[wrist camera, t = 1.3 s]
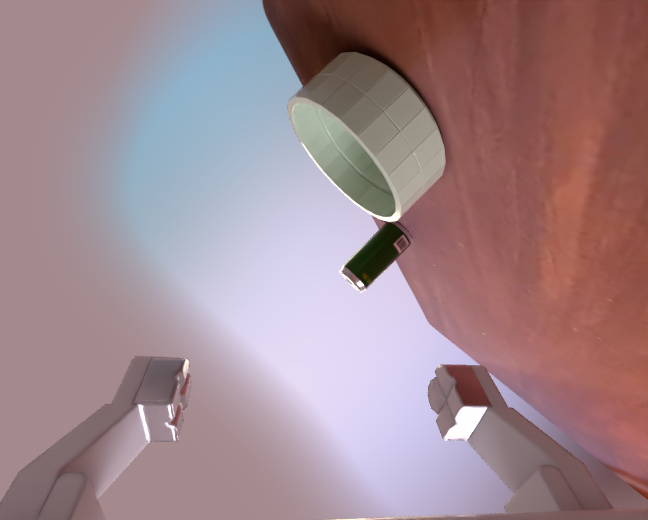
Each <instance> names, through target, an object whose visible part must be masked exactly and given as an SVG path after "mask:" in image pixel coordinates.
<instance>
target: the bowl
mask: <svg viewBox="0 0 648 520" xmlns="http://www.w3.org/2000/svg"><path fill="white" fill-rule="evenodd" d="M287 109H288V114H289V118H290V121H291V123H292V126H293V129H294V131H295V133H296V135H297V137H298V138H299V140H300V142H301V144H302V145H303V147H304V148H305V150H306V151H307V153H308V154H309V155H310V157H311V158H312V159H313V161H314V162H315V163H316V165H317V166H318V167H319V168H320V170H321V171H322V172H323V173H324V174H325V175H326V176H327V178H328V179H329V180H330V181H331V182H332V183H333V184H334V185H335V186H336V187H337V188H338V189H339V190H340V191H341V192H342V193H343V194H344V195H346V196H347V197H348V198H349V199H350V200H351V201H353V202H354V203H355V204H356V205H357V206H359V207H360V208H362V209H363V210H365V211H366V212H368V213H369V214H371V215H373V216H375V217H377V218H379V219H381V220H384V221H387V222H394V221H397V220H398V219H399V218H400V217H401V216H402V215H403V214H404V213H405V212H406V211H407V210H408V209H409V208H410V207H411V206H412V205H413V204H414V203H415V202H416V201H417V200H418V199H419V198H420V197H421V196H422V195H423V194H424V193H425V192H426V191H427V190H428V189H429V188H430V187H431V186H432V185H433V184H434V183H435V182H436V181H437V180H438V179H439V178H440V177H441V176H442V175H443V172H444V168H445V164H446V159H445V149H444V144H443V141H442V138H441V135H440V131H439V129H438V126H437V124H436V122H435V120H434V118H433V116H432V114H431V112H430V111H429V109H428V107H427V106H426V104H425V103H424V101H423V100H422V99H421V97H420V96H419V95H418V93H417V92H416V91H415V90H414V89H413V88H412V86H411V85H410V84H409V83H408V82H407V81H406V80H405V79H404V78H402V77H401V76H400V75H399V74H398V73H396V72H395V71H394V70H392V69H391V68H390V67H388V66H387V65H385V64H383V63H381V62H380V61H378V60H375V59H374V58H372V57H369V56H366V55H363V54H360V53H357V52H344V53H341V54H339V55H338V56H336V57H335V58H333V59H332V60H331V61H330V62H329V63H328V64H327V65H326V66H325V67H324V68H323V69H322V70H321V71H319V72H318V73H317V74H316V75H315V76H314V77H313V78H312V79H311V80H310V81H309V82H308V83H307V84H305V85H304V86H303V87H302V88H301V89H300V90H299V91H298V92H297V93H296V94H295V95H294V96H293V97H292V98H290V100H289V103H288V107H287Z"/></svg>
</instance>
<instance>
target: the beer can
mask: <svg viewBox="0 0 648 520" xmlns="http://www.w3.org/2000/svg"><path fill="white" fill-rule="evenodd" d="M411 242H412V236H411V235H410V233H409V232H408V231H407V230H406V229H405V228H404V227H403V226H402V225H401V224H400V223H398V222H397V221H394V222H386V223H385V224H384V225H383V226H382V227H381V228H380V229H379V230H378V231H377V232H376V233H375V234H374V235H373V236H372V238H370V240H368V242H366V243H365V244H364V246H362V247H361V248H360V249H359V250H358V251H357V252H356V253H355V254H354V255H353V256H352V258H350V259H349V260H348V261H347V262H346V263H345V264H344V265H343V267H342V270H341V271H339V272H340V273H341V275H342V276H343V277H344V278H345V279H346V280H347V281H348V282H349V283H350V284H351V285H352V286H353V287H354V288H355V289H356V290H357V291H359V292H360V293H361V292H362V291H363V290H366V289H367V288H368V287H369V286H370V285H371V284H372V283H373V282H374V281H375V280H376V279H377V278H378V277H379V276H380V275H381V274H382V273H383V272H384V271H385V270H386V269H387V268H388V267H389V266H390V265H391V264H392V263H393V262H394V261H395V260H396V259H397V258H398V257H399V256H400V255H401V254H402V253H403V252H404V251H405V250H406V249H407V248H408V247H409V246H410V245H411Z"/></svg>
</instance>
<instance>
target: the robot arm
mask: <svg viewBox="0 0 648 520" xmlns="http://www.w3.org/2000/svg"><path fill="white" fill-rule="evenodd" d="M188 369H189V360H188V359H187V358H169V357H149V356H135V358H134V359H132V361H131V363H130V365H129V367H128V369H127V371H126V373H125V375H124V378H123V380H122V382H121V384H120V386H119V388H118V390H117V393H116V395H115V397H114V399H113V401H112V403H111V404H105V405H104V406H103V407H101V408H100V409H99V410H97V411H96V412H95V413H94V414H92V415H91V416H90V417H88V418H87V419H86V420H85V421H83V422H82V423H81V424H80V425H78V426H77V427H76V428H74V429H73V430H72V431H71V432H69V433H68V434H67V435H65V436H64V437H63V438H61V439H60V440H59V441H58V442H56V443H55V444H54V445H53V446H51V447H50V448H49V449H47V450H46V451H45V452H44V453H42V454H41V455H40V456H38V457H37V458H36V459H35V460H33V461H32V462H31V463H29V464H28V465H27V466H26V467H25V468H23V469H22V470H20V471H19V472H18V474H17V476H16V477H15V479H14V481H13V482H12V484H11V486H10V487H9V489H8V491H7V492H6V494H5V496H4V497H3V499H2V501H1V502H0V520H106V518H105V515H104V513H103V511H102V509H101V506H100V504H99V502H98V500H97V499H98V498H99V497H100V496H101V495H102V494H103V493H104V492H105V490H106V489H107V488H108V487H109V486H110V485H111V484H112V483H113V482H114V480H115V479H116V478H117V477H118V476H119V475H120V474H121V473H122V472H123V471H124V469H125V468H126V467H127V466H128V465H129V464H130V463H131V461H133V459H134V458H135V457H136V456H137V455H138V454H139V452H141V451H142V449H143V448H144V447H145V446H146V445H147V442H169V441H170V442H172V441H178V438H179V435H180V431H181V428H182V424H183V412H182V411H183V410H184V409H185V408H186V407H187V405H188V401H189V396H190V390H191V376H190V375H189V374H188ZM435 373H436V376H437V377H435V378H434V379H432V380H431V381H430V384H429V386H428V398H429V403H430V406H431V408H432V409H433V410H434V411H435V412H436V413H437V414H438V417H437V420H436V422H437V425H438V427H439V430H440V433H441V435H442V438H443V440H464V441H466V440H467V441H468V443H469V444H470V445H471V446H472V447H473V449H474V450H475V451H476V452H477V453H478V454H479V455H480V456H481V458H482V459H483V460H484V461H485V462H486V463H487V464H488V465H489V466H490V468H491V469H492V470H493V471H494V472H495V473H496V474H497V475H498V476H499V477H500V479H502V481H503V482H504V483H505V484H506V485H507V486H508V487H509V488H510V490H511V491H512V492H513V493H514V495H513V496H512V497H511V498H510V499H509V500H508V501H507V502H506V504H505V506H504V508H505V511H506V513H490V514H463V515H437V516H408V517H382V518H357V519H356V518H355V519H331V520H648V508H627V509H614V508H613V507H612V505H611V504H610V502H609V501H608V499H607V498H606V496H605V495H604V493H603V492H602V491H601V489H600V487H599V486H598V484H597V483H596V481H595V480H594V478H593V477H592V475H591V474H590V472H589V471H588V469H587V468H586V466H585V465H584V463H582V462H581V461H580V460H579V459H577V458H576V457H575V456H573V455H572V454H571V453H569V452H568V451H567V450H566V449H564V448H563V447H562V446H561V445H559V444H558V443H557V442H556V441H554V440H553V439H552V438H551V437H549V436H548V435H547V434H545V433H544V432H543V431H542V430H540V429H539V428H538V427H536V426H535V425H534V424H533V423H531V422H530V421H529V420H528V419H526V418H525V417H524V416H522V415H521V414H520V413H519V412H517V411H516V410H515V409H513V408H508V406H507V404H506V402H505V401H504V399H503V397H502V396H501V394H500V392H499V390H498V389H497V387H496V385H495V383H494V382H493V380H492V379H491V376H490V375H489V373H488V371H487V370H486V368H485V367H484V366H479V365H478V366H476V365H439V366H438V367H437V368H436V370H435ZM329 520H330V519H329Z"/></svg>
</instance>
